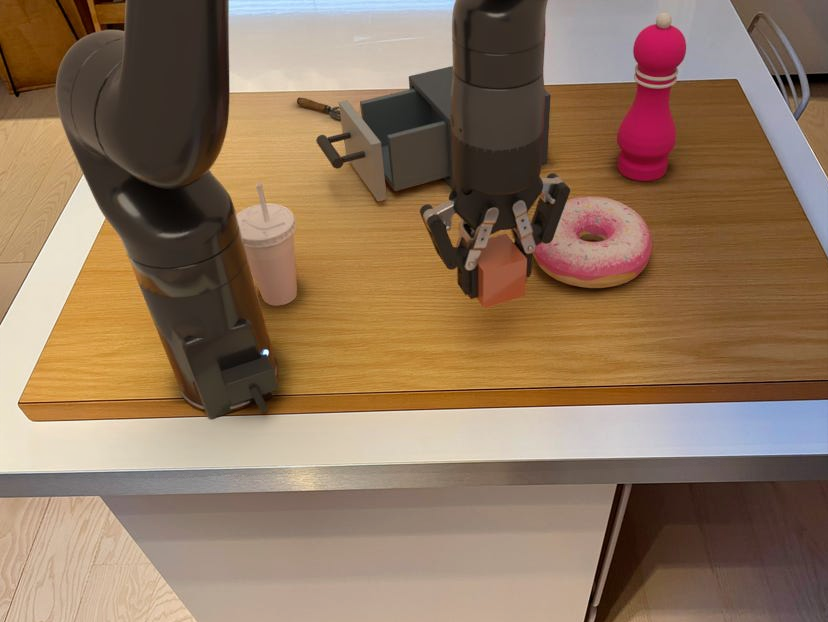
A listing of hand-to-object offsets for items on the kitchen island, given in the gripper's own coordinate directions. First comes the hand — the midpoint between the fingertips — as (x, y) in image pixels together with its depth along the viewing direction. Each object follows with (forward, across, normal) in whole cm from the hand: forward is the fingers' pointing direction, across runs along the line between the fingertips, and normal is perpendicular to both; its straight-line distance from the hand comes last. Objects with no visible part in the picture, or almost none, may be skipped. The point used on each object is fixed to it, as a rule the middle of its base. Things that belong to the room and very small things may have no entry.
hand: (495, 285), depth 78 cm
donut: (+7, +15, +8) cm, 18 cm away
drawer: (+6, +1, +33) cm, 34 cm away
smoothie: (+7, -18, +16) cm, 25 cm away
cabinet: (+7, +13, +34) cm, 37 cm away
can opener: (+7, -2, +53) cm, 53 cm away
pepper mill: (+7, +31, +21) cm, 38 cm away
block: (0, 0, 0) cm, 0 cm away
